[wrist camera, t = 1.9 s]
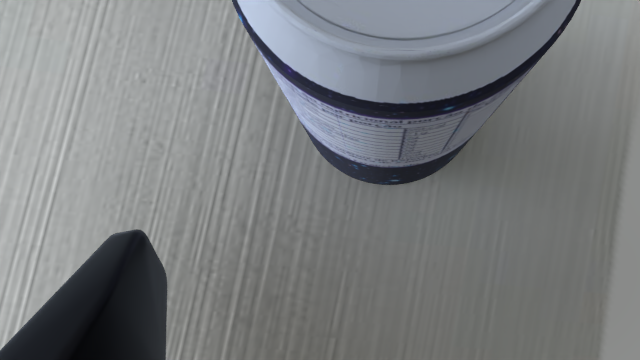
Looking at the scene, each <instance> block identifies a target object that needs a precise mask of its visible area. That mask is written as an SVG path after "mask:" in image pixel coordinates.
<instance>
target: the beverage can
mask: <svg viewBox="0 0 640 360" xmlns="http://www.w3.org/2000/svg"><path fill="white" fill-rule="evenodd" d="M580 1H581V0H232V2H233V4H234V7H235V9H236V11H237V13H238V15H239V17H240V19H241V21H242V23H243V25H244V26H245V28H246V30H247V32H248V33H249V35H250V37H251V38H252V40H253V42H254V44H255V45H256V47H257V49H258V50H259V52H260V54H261V55H262V57H263V59H264V60H265V62H266V64H267V66H268V67H269V69H270V71H271V72H272V74H273V76H274V77H275V79H276V81H277V83H278V84H279V86H280V88H281V89H282V91H283V93H284V94H285V96H286V98H287V100H288V101H289V103H290V105H291V106H292V108H293V110H294V111H295V113H296V115H297V117H298V118H299V120H300V122H301V123H302V125H303V127H304V128H305V130H306V132H307V134H308V135H309V137H310V139H311V140H312V142H313V144H314V145H315V147H316V148H317V150H318V151H319V152H320V153H321V155H322V156H323V157H324V158H325V159H326V160H327V161H328V162H329V163H331V164H332V165H333V166H334V167H336V168H337V169H339V170H340V171H342V172H343V173H345V174H347V175H349V176H351V177H353V178H356V179H358V180H361V181H365V182H369V183H374V184H382V185H395V184H404V183H409V182H413V181H416V180H419V179H422V178H425V177H427V176H429V175H431V174H433V173H435V172H436V171H438V170H439V169H441V168H442V167H444V166H445V165H446V164H448V163H449V162H450V161H451V160H452V159H453V158H454V157H455V156H456V155H457V154H458V153H459V151H460V150H461V149H462V148H463V147H464V146H465V145H466V143H467V142H468V141H469V140H470V139H471V138H472V137H473V135H474V134H475V133H476V132H477V131H478V130H479V129H480V127H481V126H482V125H483V124H484V123H485V122H486V120H487V119H488V118H489V117H490V116H491V115H492V114H493V112H494V111H495V110H496V109H497V108H498V107H499V106H500V104H501V103H502V102H503V101H504V100H505V99H506V98H507V96H508V95H509V94H510V93H511V92H512V91H513V89H514V88H515V87H516V86H517V85H518V84H519V83H520V81H521V80H522V79H523V78H524V77H525V76H526V75H527V73H528V72H529V71H530V70H531V69H532V68H533V67H534V65H535V64H536V63H537V62H538V61H539V60H540V59H541V57H542V56H543V55H544V54H545V53H546V52H547V50H548V49H549V48H550V47H551V46H552V45H553V44H554V42H555V41H556V40H557V39H558V37H559V36H560V35H561V33H562V32H563V31H564V29H565V28H566V26H567V25H568V23H569V22H570V20H571V19H572V17H573V15H574V13H575V11H576V10H577V8H578V6H579V4H580Z"/></svg>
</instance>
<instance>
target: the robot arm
mask: <svg viewBox="0 0 640 360" xmlns="http://www.w3.org/2000/svg"><path fill="white" fill-rule="evenodd" d="M166 315H167V277H166V273H165V270H164V267H163V265H162V263H161V261H160V260H159V258H158V256H157V254H156V252H155V250H154V248H153V246H152V244H151V243H150V241H149V239H148V237H147V236H146V234H145V233H144V232H143V231H141V230H138V229H136V230H131V231H125V232H120V233H116V234H113V235H111V236H110V237H109V238H108V239H107V240H106V241H105V242H104V243H103V244H102V245H101V246H100V247H99V248H98V249H97V250H96V251H95V252H94V253H93V254H92V255H91V257H90V258H89V259H88V260H87V261H86V262H85V263H84V264H83V265H82V266H81V267H80V268H79V269H78V270H77V271H76V272H75V273H74V274H73V275H72V276H71V277H70V278H69V279H68V280H67V281H66V283H65V284H64V285H63V286H62V287H61V288H60V289H59V290H58V291H57V292H56V293H55V294H54V295H53V296H52V297H51V298H50V299H49V300H48V301H47V302H46V303H45V304H44V305H43V306H42V307H41V309H40V310H39V311H38V312H37V313H36V314H35V315H34V316H33V317H32V318H31V319H30V320H29V321H28V322H27V323H26V324H25V325H24V326H23V327H22V328H21V329H20V330H19V331H18V332H17V333H16V335H15V336H14V337H13V338H12V339H11V340H10V341H9V342H8V343H7V344H6V345H5V346H4V347H3V348H2V349H1V350H0V360H166Z"/></svg>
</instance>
